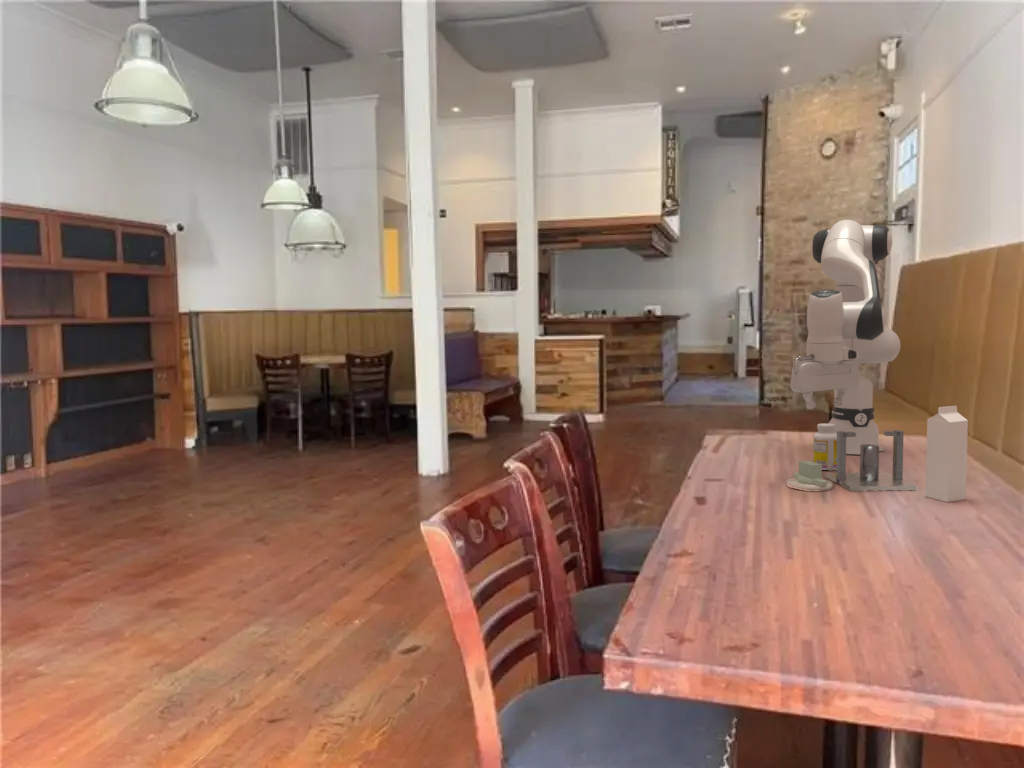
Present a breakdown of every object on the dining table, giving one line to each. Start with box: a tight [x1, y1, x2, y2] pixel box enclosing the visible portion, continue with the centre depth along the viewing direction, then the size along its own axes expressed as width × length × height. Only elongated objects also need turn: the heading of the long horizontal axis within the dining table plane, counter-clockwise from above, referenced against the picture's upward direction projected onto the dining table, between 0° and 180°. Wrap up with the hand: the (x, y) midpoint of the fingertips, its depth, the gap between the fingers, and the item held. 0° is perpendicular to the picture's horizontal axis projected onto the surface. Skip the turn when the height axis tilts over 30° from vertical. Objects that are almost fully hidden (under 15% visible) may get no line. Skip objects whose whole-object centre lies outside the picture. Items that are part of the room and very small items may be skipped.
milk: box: [925, 405, 969, 503], centre depth 177 cm, size 6×6×22 cm
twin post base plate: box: [825, 429, 917, 492], centre depth 193 cm, size 16×16×14 cm
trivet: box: [786, 477, 834, 492], centre depth 193 cm, size 11×11×1 cm
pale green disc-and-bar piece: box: [793, 460, 827, 486], centre depth 192 cm, size 6×11×5 cm, turn 14°
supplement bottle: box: [813, 423, 837, 472], centre depth 212 cm, size 7×7×13 cm
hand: (824, 407), depth 193 cm, fingers open, 8 cm apart
